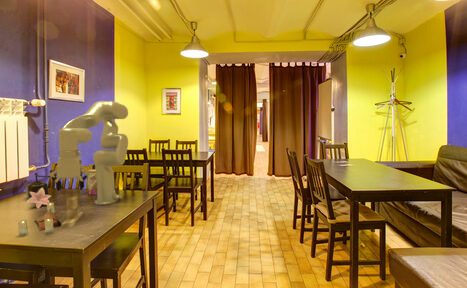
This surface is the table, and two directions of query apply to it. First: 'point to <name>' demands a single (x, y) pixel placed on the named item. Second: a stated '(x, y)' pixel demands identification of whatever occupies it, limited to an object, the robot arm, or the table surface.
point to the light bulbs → (48, 222)
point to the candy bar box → (92, 183)
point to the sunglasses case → (49, 214)
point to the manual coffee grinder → (37, 186)
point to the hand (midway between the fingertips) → (70, 189)
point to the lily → (39, 198)
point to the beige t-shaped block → (72, 212)
